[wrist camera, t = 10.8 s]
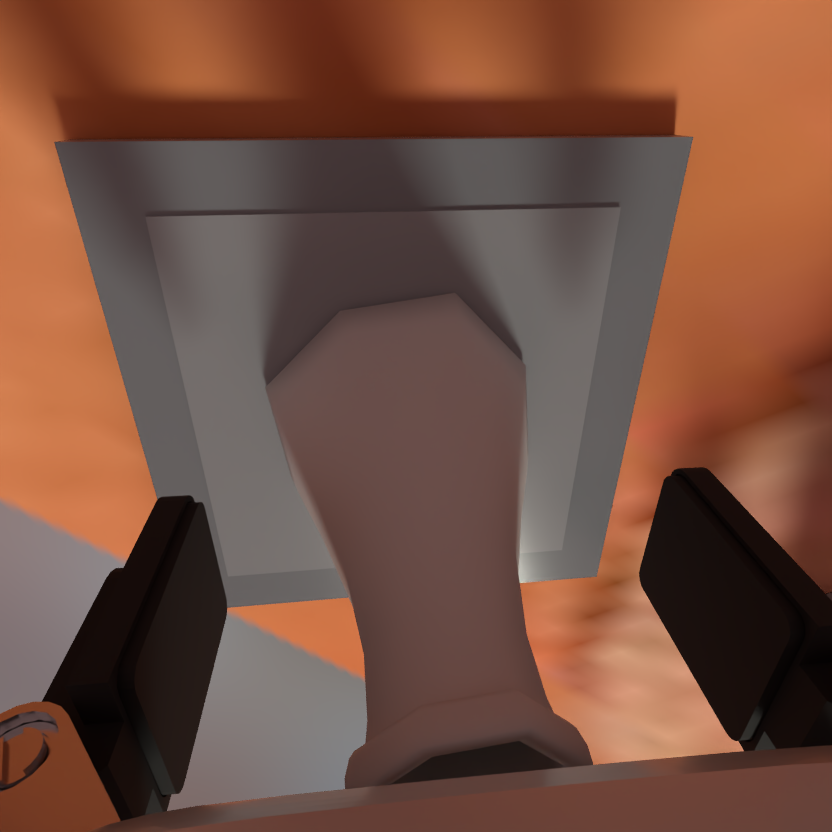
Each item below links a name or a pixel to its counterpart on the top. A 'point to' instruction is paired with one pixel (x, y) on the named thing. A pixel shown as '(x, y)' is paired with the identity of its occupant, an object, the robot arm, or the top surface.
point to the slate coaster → (367, 286)
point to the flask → (425, 535)
